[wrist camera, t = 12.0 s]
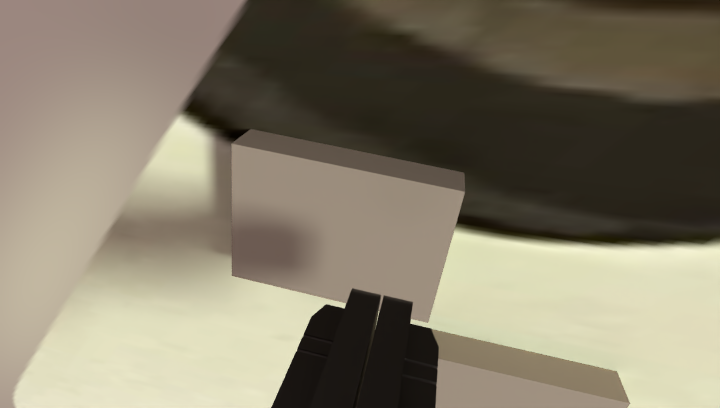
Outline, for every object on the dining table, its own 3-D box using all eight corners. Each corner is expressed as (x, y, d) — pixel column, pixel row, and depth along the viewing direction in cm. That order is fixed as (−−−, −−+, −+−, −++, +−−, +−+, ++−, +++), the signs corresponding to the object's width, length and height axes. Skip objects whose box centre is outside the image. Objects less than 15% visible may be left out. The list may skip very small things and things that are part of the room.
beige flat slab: (464, 168, 14) (254, 126, 15) (464, 191, 12) (231, 143, 13) (430, 290, 16) (252, 248, 17) (428, 322, 15) (231, 275, 16)
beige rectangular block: (613, 363, 16) (424, 320, 17) (629, 403, 15) (420, 354, 15) (567, 447, 19) (403, 406, 19) (578, 490, 17) (398, 443, 18)
